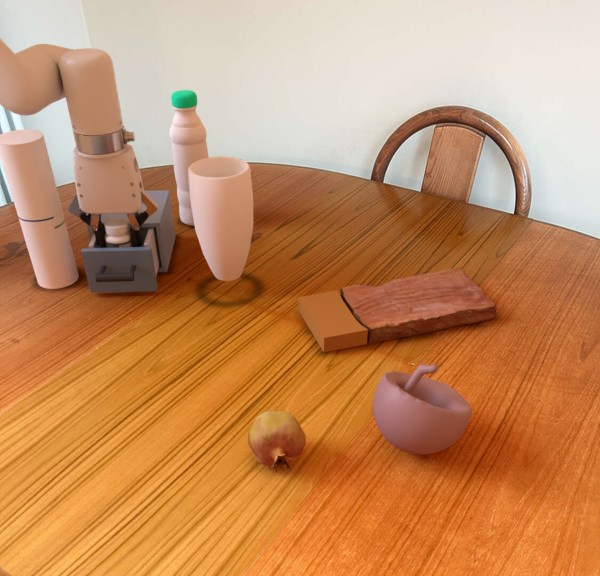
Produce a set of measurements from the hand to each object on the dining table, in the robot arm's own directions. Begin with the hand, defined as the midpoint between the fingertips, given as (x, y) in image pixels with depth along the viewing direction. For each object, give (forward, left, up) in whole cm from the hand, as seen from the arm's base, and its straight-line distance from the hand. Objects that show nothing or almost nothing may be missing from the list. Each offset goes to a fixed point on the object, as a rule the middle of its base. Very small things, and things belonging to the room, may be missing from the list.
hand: (121, 247), depth 112 cm
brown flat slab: (+46, -13, -7) cm, 48 cm away
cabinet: (0, +11, -7) cm, 13 cm away
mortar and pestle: (+44, -43, -7) cm, 62 cm away
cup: (+18, -3, -7) cm, 20 cm away
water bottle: (+10, +26, -7) cm, 29 cm away
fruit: (+26, -45, -7) cm, 52 cm away
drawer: (0, 0, -6) cm, 6 cm away
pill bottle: (0, 0, -4) cm, 4 cm away
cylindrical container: (-13, +2, -7) cm, 15 cm away
